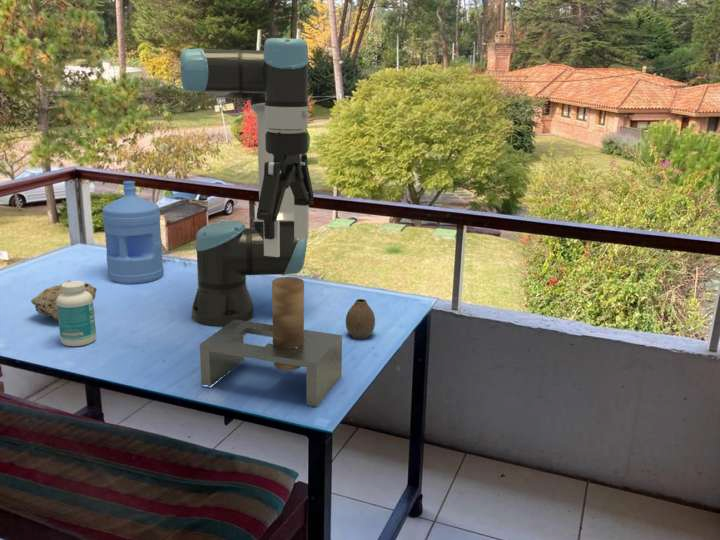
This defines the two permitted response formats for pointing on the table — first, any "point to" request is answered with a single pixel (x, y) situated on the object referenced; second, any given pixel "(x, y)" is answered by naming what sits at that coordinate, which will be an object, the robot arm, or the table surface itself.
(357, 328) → the vase
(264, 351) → the keyhole plate
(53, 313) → the pumice stone
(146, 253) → the water jug
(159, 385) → the table surface
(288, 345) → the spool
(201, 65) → the robot arm
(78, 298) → the pill bottle
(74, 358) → the table surface
